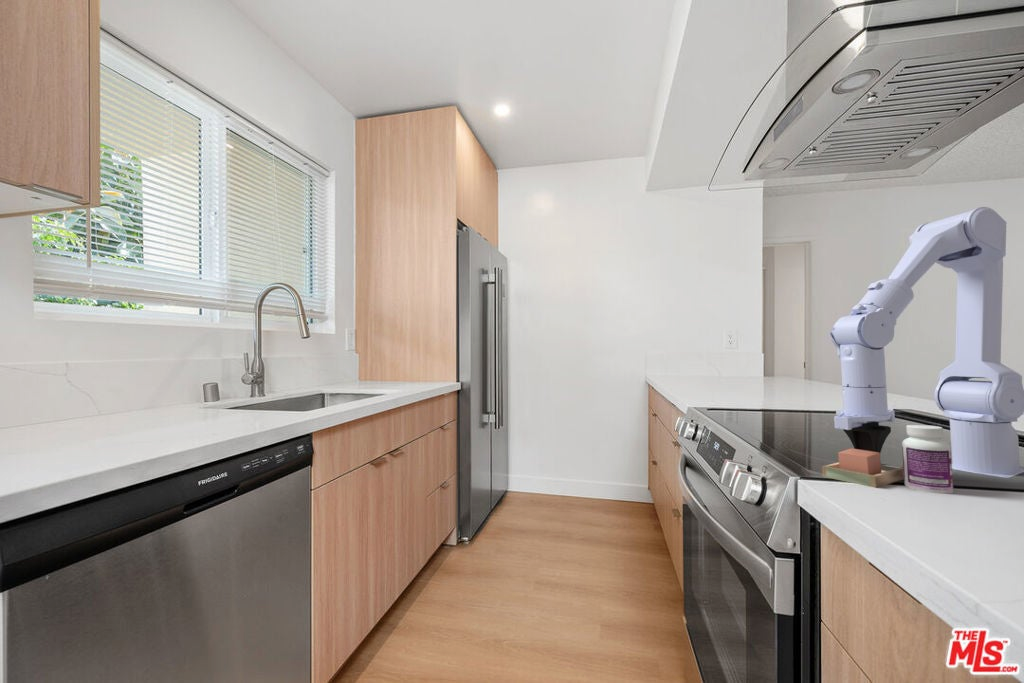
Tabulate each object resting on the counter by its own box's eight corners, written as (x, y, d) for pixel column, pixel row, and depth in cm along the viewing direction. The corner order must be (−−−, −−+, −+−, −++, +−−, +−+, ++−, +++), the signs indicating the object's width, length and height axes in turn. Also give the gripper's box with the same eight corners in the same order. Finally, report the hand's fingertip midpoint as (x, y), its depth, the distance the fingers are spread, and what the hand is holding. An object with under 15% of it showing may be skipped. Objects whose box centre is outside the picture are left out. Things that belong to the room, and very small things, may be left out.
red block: (853, 472, 73) (851, 448, 73) (881, 477, 70) (879, 452, 70) (840, 476, 71) (838, 452, 71) (869, 482, 68) (866, 457, 68)
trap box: (872, 466, 79) (872, 454, 79) (925, 475, 73) (924, 462, 73) (822, 479, 72) (821, 466, 72) (875, 491, 65) (875, 476, 65)
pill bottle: (964, 497, 62) (960, 429, 62) (921, 496, 63) (917, 429, 63) (935, 486, 67) (931, 423, 67) (895, 485, 68) (892, 423, 68)
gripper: (859, 383, 79) (863, 458, 78) (812, 387, 72) (816, 470, 72) (908, 384, 73) (913, 466, 72) (861, 390, 66) (866, 480, 66)
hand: (868, 469), depth 72 cm, fingers closed, pressing on red block
